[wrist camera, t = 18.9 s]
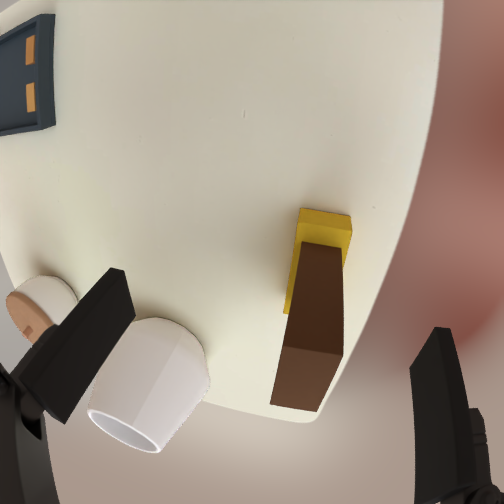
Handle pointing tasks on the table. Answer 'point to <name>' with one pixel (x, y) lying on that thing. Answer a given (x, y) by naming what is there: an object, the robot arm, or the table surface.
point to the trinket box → (40, 305)
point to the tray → (27, 77)
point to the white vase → (149, 384)
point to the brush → (313, 311)
